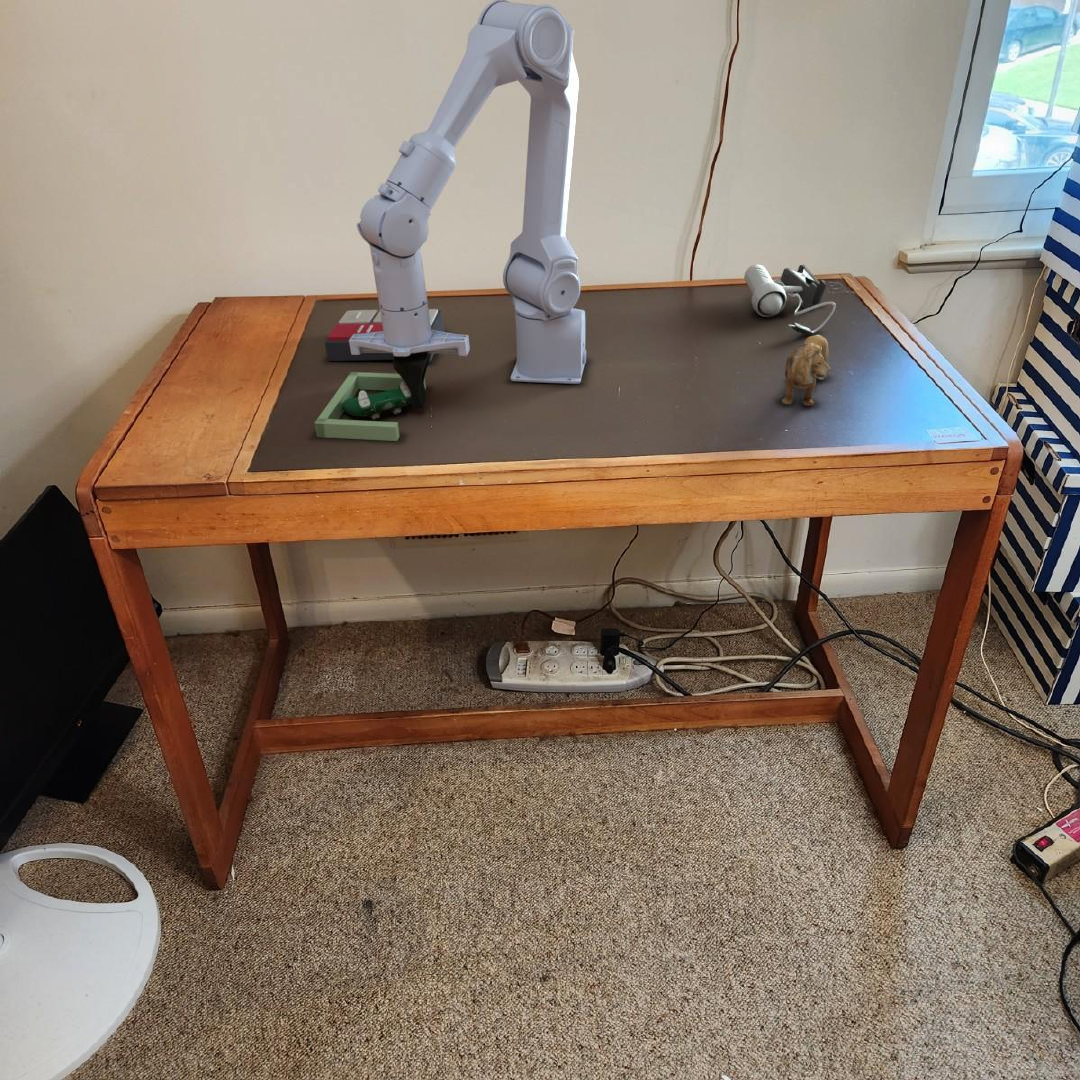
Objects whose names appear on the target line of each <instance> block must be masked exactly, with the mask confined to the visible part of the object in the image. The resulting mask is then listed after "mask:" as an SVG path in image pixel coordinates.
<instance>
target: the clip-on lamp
mask: <svg viewBox="0 0 1080 1080" xmlns="http://www.w3.org/2000/svg"><path fill="white" fill-rule="evenodd" d="M743 278H744V281H745V283H746V285H747V288H748V289H749V291H750V294H751V295H752V296H751V305H752V308H753V310H754V311H755V312H756V314H758V315H760V316H761V317H765V318H769V317H774V316H776V315H778V314H779V313H781V311H782V310H783V309H784V308H785V306H786V303H787V295H788V296H789V297H791V298H795V297H796V298H798V300H799V301H798V302H799V303H798V306H797V307H796V309H795V310H794V312H793V315H794V316H799V315H802V314H805V313H808V312H810V311H812V310H815V309H818V308H821V307H823V306H829V305H832V310H831V312H830V313H829V315H828V316H827V317H826V319H824V321H823V322H822V323H821V324H820V325H818V327H817V328H815V329H813V330H811V329H810V328H809V327H807V326H804V325H801V324H799V323H796V322H792V323H791V324H788V328H789V327H791V328H792V330H793V331H795V332H796V333H801V334H802V335H806V336H812V334H814V333H816V332H818V331H819V330H821V329H822V328H823V327H824V326H825V325H826V324H827V323H828V322H829V320H830V319H831V318H832V316H833V314H834V312H835V311H836V308H837V305H836V302H834V301H825V302H821V300H822V298H823V296H824V293H825V290H826V287H827V282H826V281H825V280H824V279H821V280H818V279H817V278H816V276H815V275H813V273H812V272H811V271H810V269H808V268H807V266H806V265H805V264H800V265H799V266H798V269H797V271H796V270H793V269H791V268H789V267H786V268H784V269H783V271H782V273H781V276H779V277H777V278H776V279H774V280H773V279H772V277H771V276H770V274H769V272H768V271H767V269H766V268H765V266H763V264H758V263H757V264H753V265H750V266H749V267H748V268H747V269H746V271H745V272H744V277H743ZM820 302H821V303H820ZM801 304H802V305H801ZM811 305H812V306H811ZM801 306H802V308H804V309H802V310H799V309H800V307H801Z"/></svg>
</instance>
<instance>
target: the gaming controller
mask: <svg viewBox="0 0 1080 1080" xmlns="http://www.w3.org/2000/svg"><path fill="white" fill-rule="evenodd" d="M410 405H412V400H411V392H410V390H409V388H408V386H407V385H406V383H405V382H404V381H402V382H401V385H400V386H399V388H398V389H394V390H390V391H382V392H377V393H373V394H368V393H367V392H366V390H360V391H359V392H358V396H357V397H353V398H349V399H346V400H345V401H344V402H343V404H342V409H343V410H344V412H345V413H346V414H347V415H350V416H352V417H368V418H371V420H377V419H379V418H380V415H381V412H386V411H388V410H389V411H390V412H391V413H392V414H394V415H398V414H401V412H402V409H403V407H407V406H410Z"/></svg>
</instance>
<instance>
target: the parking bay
mask: <svg viewBox="0 0 1080 1080" xmlns="http://www.w3.org/2000/svg"><path fill="white" fill-rule="evenodd" d="M402 381H404V380H403V379H402V377H401V376H400V375H399V374H398V373H385V372H364V371H363V372H362V371H361V372H360V371H351V372H350V373H349V374H348V376H347V377H346V378H345V380H344V381H343V382H342V383H341V385H340V387H339V388H338V390H337V391H336V392H335V393H334V395H333V396H332V398H331V399H330V400H329V402H328V403H327V405H326V406H325V407H324V409H323V410H322V411H321V413H320V415H319V416H318V417H317V419H316V420H315V421H314V428H315V432H316V438H325V439H327V438H328V439H345V440H367V441H385V442H386V441H388V442H398V440H399V438H400V437H401V436H400V430H399V429H400V428H399V422H398V421H397V422H396V421H380V420H379V421H376V420H357V419H355V420H354V419H340V418H341V416H343V414H344V412H345V411H344V410H343V409H342V404H343V402H344V401H345V400H346V399H349V398H355V396H356V394H357V393H358V391H359V390H360V391H383V392H386V391H390V390H394V389H398V388H399V386H400V385H401V382H402ZM424 387H425V390H426V389H427V385H426V377H425V378H424Z"/></svg>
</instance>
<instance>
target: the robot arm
mask: <svg viewBox="0 0 1080 1080" xmlns="http://www.w3.org/2000/svg"><path fill="white" fill-rule="evenodd" d="M574 33H575V31H574V28H573V27H572V25H571V24H570V23H569V22H568V20H567V19H566V18H565V16H564V15H563V14H562V13H561V12H560V11H559V10H558V9H557V8H556V7H555V6H552V5H550V4H530V3H521V2H513V1H509V0H492V1H491V2H489V3H488V4H486V5H485V7H484V8H483V9H482V11H481V12H480V15H479V17H478V20H477V23H475V24H474V26H473V27H472V28H471V29H470V31H469V32H468V36H467V44H466V50H465V53H464V56H463V57H462V59H461V62H460V63H459V65H458V68H457V69H456V72H455V74H454V76H453V78H452V80H451V82H450V84H449V86H448V88H447V90H446V92H445V94H444V96H443V98H442V100H441V102H440V104H439V106H438V108H437V110H436V112H435V114H434V116H433V119H432V120H431V123H430V124H429V127H428V128H427V130H424V131H422V132H417V133H414V134H413V135H411V137H410V138H409V140H408V141H407V140H403V141H402V143H401V145H400V147H399V149H398V152H399V153H400V156H399V158H398V159H397V161H396V163H395V165H394V166H393V168H392V170H391V172H390V173H389V176H388V177H387V179H386V181H385V182H381V183H380V185H379V187H378V189H377V192H378V193H379V194H376V195H374V197H373V198H372V197H370V198H369V199H368V200H367V201H366V202H365V203H364V205H363V207H362V209H361V212H360V215H359V218H360V221H359V222H357V223H356V229H357V231H358V233H359V235H360V236H361V238H362V240H364V241H365V242H366V243H367V244H368V246H369V251H370V256H371V262H372V263H371V264H372V268H373V275H374V276H373V277H374V283H375V288H376V294H377V300H378V305H379V311H380V313H381V319H382V325H383V331H381V332H373V333H365V334H353V336H352V337H351V338H350V340H349V344H350V349H351V354H352V355H359V354H361V353H393V355H394V360H392V364H391V365H392V368H393V370H395V372H396V374H399V375H400V376H401V377H402V379H403V380H404V382H405V383H406V385H407V386H408V388H409V390H410V392H411V400H412V403H411V405H412V409H413V410H423V409H424V407H425V406H426V403H427V394H426V389H425V387H424V378H425V379H426V373H427V369H428V366H429V363H430V362H429V360H430V357H431V354H432V353H435V354H450V355H451V354H454V355H455V354H458V356H459V357H467V356H468V354H469V352H470V350H471V348H470V347H471V346H470V336H469V334H459V333H458V334H457V333H452V332H446V331H445V332H441V331H435V330H431V324H430V316H429V302H428V294H427V288H426V287H427V286H426V279H425V272H424V271H425V270H424V263H423V256H422V246H423V245H424V244H425V243H426V242H427V240H428V236H429V227H430V226H429V218H430V216H431V213H430V212H431V211H432V209H433V207H434V206H435V205H436V203H437V201H438V199H439V197H440V195H442V192H443V191H444V189H445V187H446V185H447V183H448V181H449V180H450V178H451V176H452V175H453V174H454V171H455V170H456V168H457V157H456V153H455V149H456V147H457V145H458V144H459V143H460V140H461V139H462V138H463V136H464V135H465V133H466V132H467V130H468V128H469V127H470V126H471V124H472V123H473V121H474V120H475V118H476V116H477V115H478V113H479V112H480V110H481V109H482V108H483V106H484V104H485V103H486V101H487V100H488V98H489V97H490V96H491V94H492V92H493V91H494V89H496V88H497V87H501V86H504V85H507V84H510V83H514V82H519V84H520V85H521V86H522V87H523V88H524V90H525V91H526V92H527V93H528V95H529V96H530V105H529V121H528V137H527V153H526V168H525V186H524V197H523V198H524V201H523V216H522V231H521V233H520V234H519V235H517V236H516V237H515V239H513V240H512V242H511V243H510V251H509V257H508V259H507V261H506V264H505V265H504V269H503V271H502V283H503V286H504V289H505V290H506V292H507V293H508V294H509V295H510V296H512V305H513V306H514V322H515V342H516V343H515V344H516V362H515V365H514V368H513V371H512V372H511V375H510V381H511V382H520V383H522V382H523V383H542V384H543V383H546V384H566V385H567V384H570V385H579V384H581V382H582V377H583V373H584V369H585V364H586V363H587V350H586V311H585V309H579V308H574V307H575V306H576V304H577V302H578V300H579V297H580V295H581V290H582V284H581V279H580V276H579V273H578V262H579V261H578V260H579V259H578V255H577V253H576V252H575V250H574V249H573V247H572V245H571V244H570V242H569V240H568V237H567V234H566V233H567V223H568V210H569V201H570V200H569V199H570V190H571V189H570V187H571V176H572V168H573V167H572V166H573V153H574V144H575V131H576V120H577V119H576V118H577V110H578V109H577V107H578V96H579V88H580V87H579V86H580V85H579V75H578V71H577V67H576V63H575V58H574V54H573V46H574V45H573V44H574Z"/></svg>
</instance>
